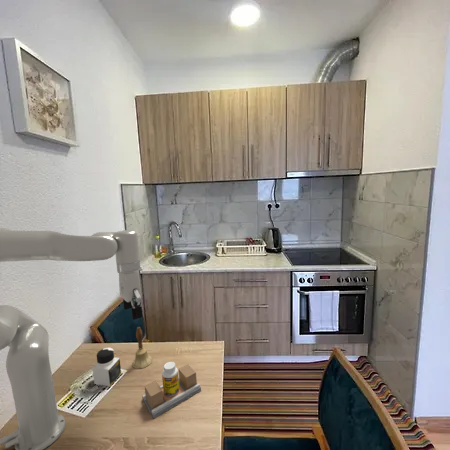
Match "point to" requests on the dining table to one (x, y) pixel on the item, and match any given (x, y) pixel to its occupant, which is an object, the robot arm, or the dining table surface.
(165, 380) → the supplement bottle
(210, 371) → the dining table surface
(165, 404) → the rail
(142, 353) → the hand bell
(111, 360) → the medicine bottle
